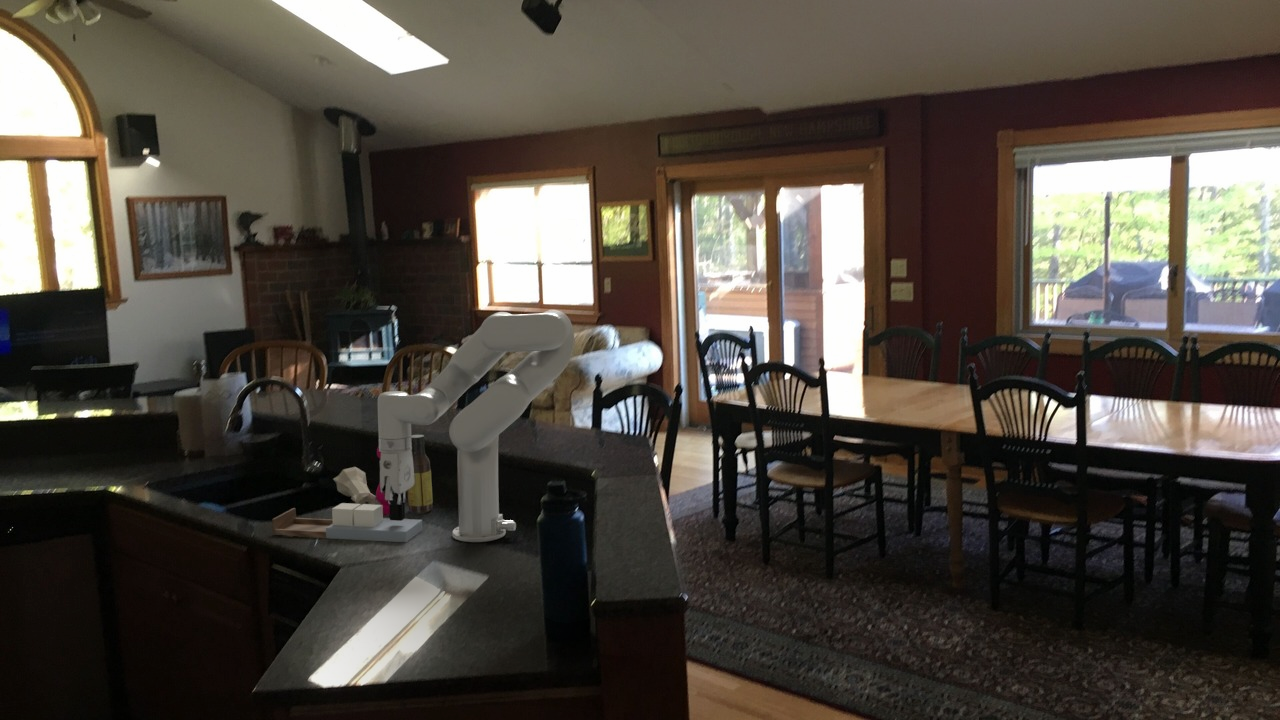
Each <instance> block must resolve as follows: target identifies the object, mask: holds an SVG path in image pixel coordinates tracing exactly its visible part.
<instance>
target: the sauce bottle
mask: <svg viewBox="0 0 1280 720" xmlns="http://www.w3.org/2000/svg"><path fill="white" fill-rule="evenodd" d="M411 441H412V450H411V451H412V456H413V466H414V485H413V486H412V487H411V488H410V489H408V490H407V491H406V493H407V502H408V503H407V505H408V511H409V512H410V513H413V514H425V513H428V512H431V511H432V510H433V502H434V501H433V486H432V485H433V484H432V469H431V461H430V459H429V457H428V456H427V454H426V449H425V435H424V434H413V435H412V434H411Z"/></svg>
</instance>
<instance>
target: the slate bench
mask: <svg viewBox="0 0 1280 720" xmlns="http://www.w3.org/2000/svg"><path fill="white" fill-rule="evenodd" d="M423 530H424V529H423V519H413V518H411V519H410V518H405V519H403V520H402V521H397V520H390V517H383V521H382V522H381V523H379V524H378V525H376V526H375V527H364V526H354V525H353V526H343V525H333V524H331V525H330V526H328V527H327V528H326V538H325V539H335V540H337V539H339V540H357V541H373V542H374V541H379V542H396V543H408V542H409V541H410V540H411V539H412V538H414V537H416V535H418V534H419V533H421V532H422V531H423Z"/></svg>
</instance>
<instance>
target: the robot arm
mask: <svg viewBox="0 0 1280 720" xmlns="http://www.w3.org/2000/svg"><path fill="white" fill-rule="evenodd" d="M574 348H575V333H574V328H573V324H572V322H571V319H570V318H569V316H568V315H567V314H566V313H564V312H563V311H561V310H557V309H549V310H545V311H544V312H541V313H526V314H525V313H524V314H522V313H521V314H511V313H509V312H506V311H498V312H495V313H493V314H491V315H489V316H487V318H485V319H484V321H483V322H482V323H481V325H480V326H479V328H478V329H477V330H476V331H475V332H474V333H473V334H472V335H471V336H470V337H469V338H468V339H467V340H466V341H465V342H464V343H463V344H461V346H460V347H459V348H458V349H457V350H456V351H455V352H454V353H453V355H452V356H451V357H450V360H449V362H448V364H447V365H446V366H445V367H444V369H442V371H440V373H439V374H438V375H437V376H436V377H435V378H434V379H433V380H432V381H431V382H429V384H428V385H427V386H426V387H425V388H423V390H421V391H419V392H417V393H414V394H409V393H408V392H406V391H400V390H394V391H393V390H392V391H384V392H381V393H380V394H379V395H378V397H377V425H378V430H377V431H378V446H379V451H380V452H381V460H380V459H379V461H380V463H379V465H380V466H379V483H380V489H381V492H382V493H383V494H385V500H388V503H389V513H390V515H389V518H390V520H397V521H402V520H403V519H406V509H405V508H406V506H405V505H406V493H407V490H408V489H410V488H411V487H412V486H413V485H414V466H413V456H412V451H411V450H412V441H411V436H412V425H416V426H428V425H431V424H433V423H435V422H436V421H437V420H439V418H440V417H442V416H443V415H444V414H445V413H446V412H447V411H448V410H449V408H451V407H452V406H453V405H454V403H456V402H457V401H458V400H459V398H460V397H462V396H463V394H464V393H466V392H467V391H468V389H470V388H471V387H472V386H473V385H475V384H476V383H478V382H479V381H480V379H481V378H483V377H484V376H485V375H486V374H487V372H489V371H490V370H491V369H492V367H494V366H495V365H496V363H498V362H499V361H500V359H501V358H503V356H504V355H506V354H507V353H511V352H512V353H518V352H519V353H520V352H530V353H529V354H528V355H526V356H525V357H524V358H523V359H522V361H520V362H519V363H518V364H516V365H515V366H514V368H512V369H511V370H510V371H508V372H507V373H506V374H504V375H503V376H500V377H499V378H498V379H496V381H494V382H493V383H492V384H491V385H490V386H488V388H486V389H485V390H484V391H483V392H482V393H481V394H480V395H478V397H476V398H475V399H474V400H472V402H471V403H469V404H468V405H467V406H465V407H463V409H461V410H460V411H459V412H458V413H457V415H455V417H453V419H452V420H451V422H450V425H449V439H450V441H451V443H452V444H453V446H455V448H456V449H457V454H456V455H457V462H456V464H457V499H458V500H457V503H458V504H457V505H458V507H457V508H458V526H456V527H454V529H453V530H452V535H451V536H452V538H453V539H455V540H456V541H457V540H458V541H459V542H467V543H485V542H486V543H487V542H491V541H495V540H499V539H501V538H503V537H504V536H506V533H507V531H514V532H515V531H516V528H517V522H515V520H511V519H510V520H508V519H506V520H505V519H504V518H503V517H504V516H503V515H504V514H503V513H500V507H499V506H500V503H499V499H500V498H499V438H500V437H499V436H500V434H502V432H504V431H505V430H506V429H507V428H509V426H511V425H512V424H513V423H514V422H515V421H517V420H518V418H520V417H521V416H522V415H523V413H524V412H525V410H526V409H528V407H529V405H530V403H531V402H533V400H535V399H536V398H537V397H538V396H539V395H540V394H541V393H543V392H544V390H546V389H547V388H548V386H550V384H552V383H553V382H554V381H555V380H556V379H557V378H558V377H559V376H560V375H561V374H562V373H563V372H564V370H565V369H566V368H567V366H568V365H569V363H570V361H571V358H572V356H573V353H574ZM392 490H393V491H392Z"/></svg>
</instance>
